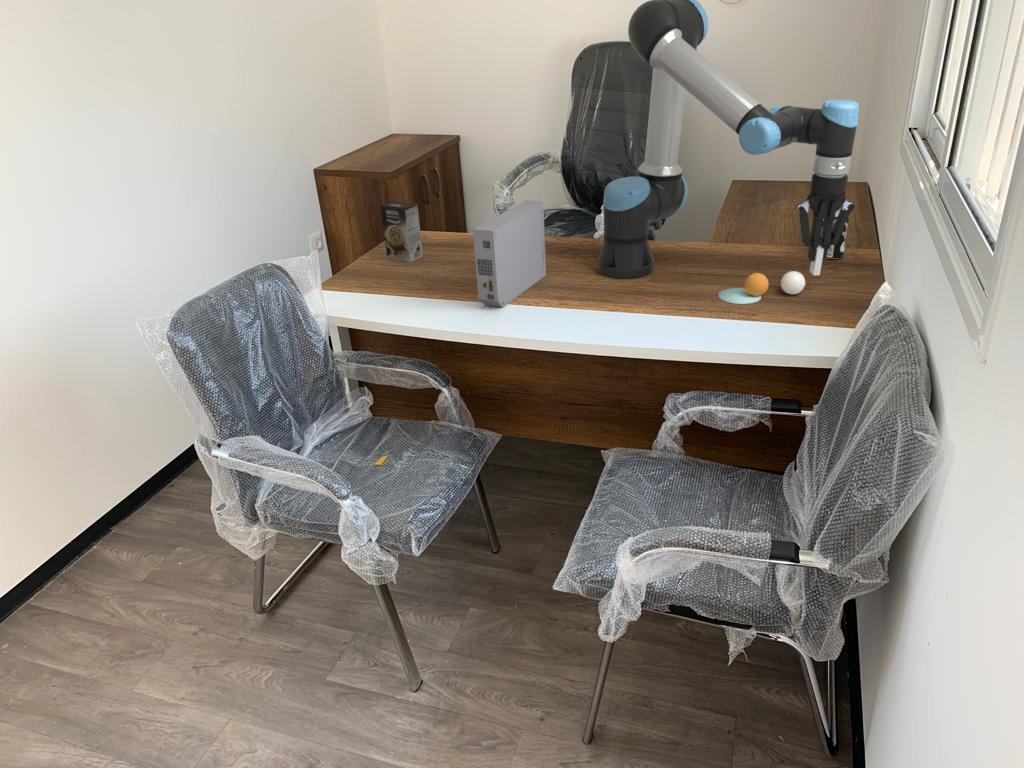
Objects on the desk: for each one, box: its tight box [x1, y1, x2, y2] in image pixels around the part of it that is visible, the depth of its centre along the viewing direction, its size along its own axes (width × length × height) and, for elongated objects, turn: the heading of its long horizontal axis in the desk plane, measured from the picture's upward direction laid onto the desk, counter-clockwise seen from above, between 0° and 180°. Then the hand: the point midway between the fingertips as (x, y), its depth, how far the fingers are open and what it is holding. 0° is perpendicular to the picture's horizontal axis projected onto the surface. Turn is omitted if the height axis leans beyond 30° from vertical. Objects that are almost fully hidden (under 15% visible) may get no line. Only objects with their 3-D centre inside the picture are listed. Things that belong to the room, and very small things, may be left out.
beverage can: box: [818, 209, 850, 259], centre depth 201 cm, size 7×7×12 cm
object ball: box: [744, 272, 770, 296], centre depth 182 cm, size 6×6×6 cm
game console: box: [472, 199, 547, 308], centre depth 191 cm, size 6×27×20 cm, turn 152°
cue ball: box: [780, 270, 806, 295], centre depth 182 cm, size 6×6×6 cm
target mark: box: [717, 287, 762, 305], centre depth 183 cm, size 10×10×1 cm
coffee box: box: [379, 200, 424, 264], centre depth 220 cm, size 9×6×16 cm
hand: (814, 273), depth 181 cm, fingers closed
